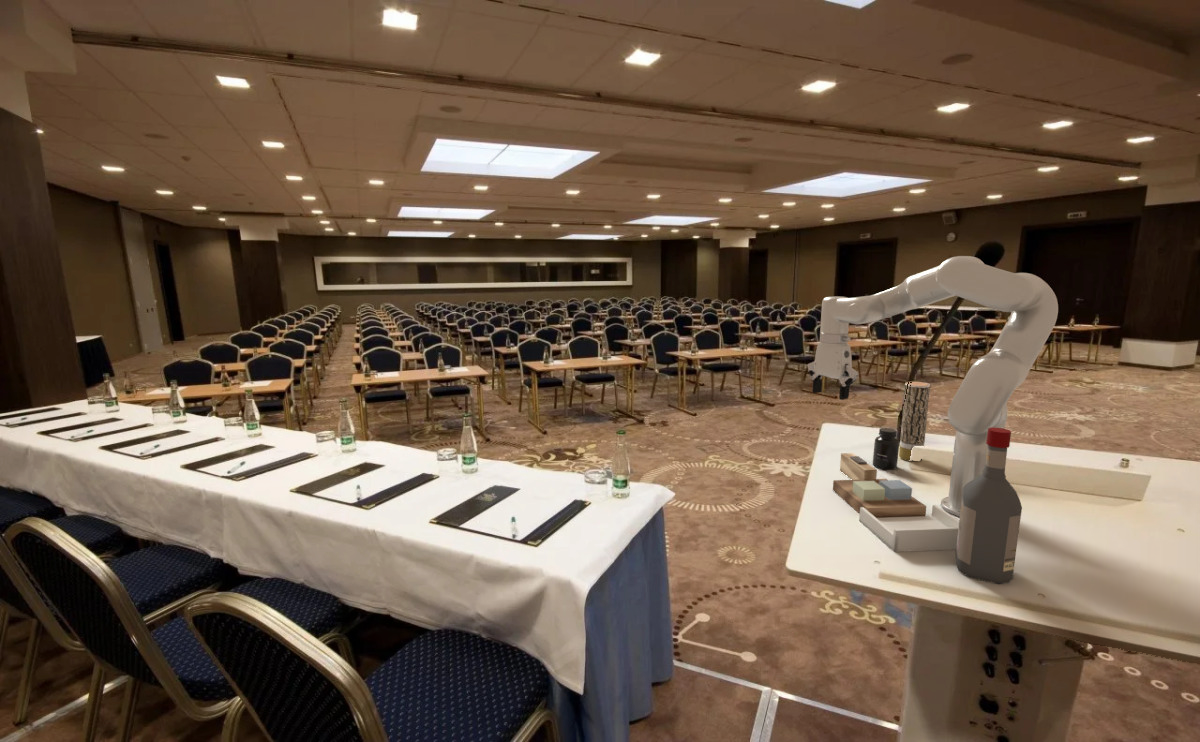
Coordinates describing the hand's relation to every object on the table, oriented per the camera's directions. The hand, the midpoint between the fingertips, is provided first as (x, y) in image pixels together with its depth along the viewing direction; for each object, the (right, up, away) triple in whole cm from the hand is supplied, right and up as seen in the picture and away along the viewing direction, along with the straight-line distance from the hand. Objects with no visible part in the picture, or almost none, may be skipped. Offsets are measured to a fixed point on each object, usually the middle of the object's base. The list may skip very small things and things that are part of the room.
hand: (829, 395), depth 160 cm
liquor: (+10, -34, -51) cm, 62 cm away
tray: (+5, -31, -35) cm, 47 cm away
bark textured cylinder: (+32, -21, +14) cm, 41 cm away
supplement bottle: (+21, -23, +8) cm, 32 cm away
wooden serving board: (+4, -28, -18) cm, 33 cm away
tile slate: (+8, -25, -21) cm, 33 cm away
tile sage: (+1, -25, -21) cm, 33 cm away
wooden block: (+7, -25, -2) cm, 26 cm away
